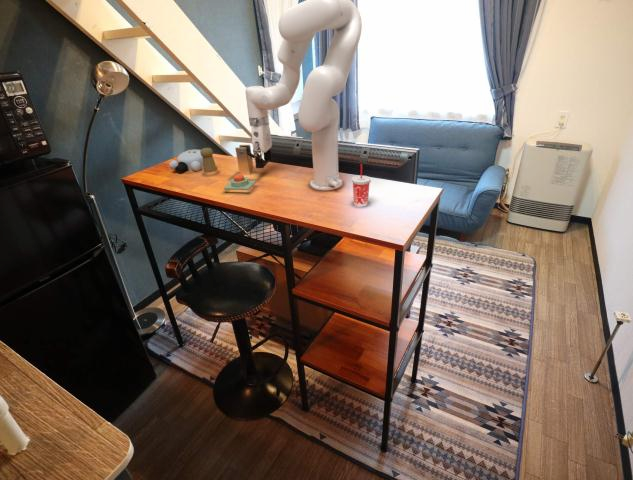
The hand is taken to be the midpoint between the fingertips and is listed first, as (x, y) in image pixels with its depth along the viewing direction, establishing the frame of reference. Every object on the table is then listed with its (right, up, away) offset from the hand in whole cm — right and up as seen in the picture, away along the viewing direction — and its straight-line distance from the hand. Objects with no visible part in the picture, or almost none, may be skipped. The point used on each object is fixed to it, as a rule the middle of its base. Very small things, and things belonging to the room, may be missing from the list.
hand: (264, 164), depth 141 cm
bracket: (-8, -4, +4) cm, 10 cm away
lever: (-5, +2, 0) cm, 5 cm away
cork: (-25, -2, +11) cm, 27 cm away
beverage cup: (+37, -19, -25) cm, 49 cm away
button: (-8, -9, -10) cm, 15 cm away
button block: (-8, -12, -8) cm, 16 cm away
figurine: (-35, +1, +16) cm, 39 cm away
